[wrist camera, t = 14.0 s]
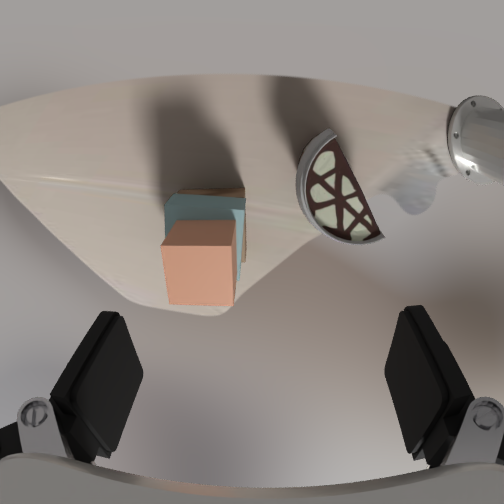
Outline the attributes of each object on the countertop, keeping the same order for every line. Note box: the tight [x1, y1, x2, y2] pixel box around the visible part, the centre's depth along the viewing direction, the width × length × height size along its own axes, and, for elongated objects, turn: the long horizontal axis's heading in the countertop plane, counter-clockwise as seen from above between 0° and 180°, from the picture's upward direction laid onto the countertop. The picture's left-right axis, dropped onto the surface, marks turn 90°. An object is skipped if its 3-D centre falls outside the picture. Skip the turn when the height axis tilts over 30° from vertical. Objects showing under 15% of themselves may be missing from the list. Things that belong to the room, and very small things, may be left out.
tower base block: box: [177, 188, 246, 262], centre depth 39 cm, size 8×8×4 cm
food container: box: [296, 128, 385, 245], centre depth 33 cm, size 12×6×10 cm, turn 32°
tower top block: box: [164, 194, 246, 281], centre depth 35 cm, size 8×8×4 cm
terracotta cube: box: [161, 220, 237, 306], centre depth 31 cm, size 6×6×6 cm
